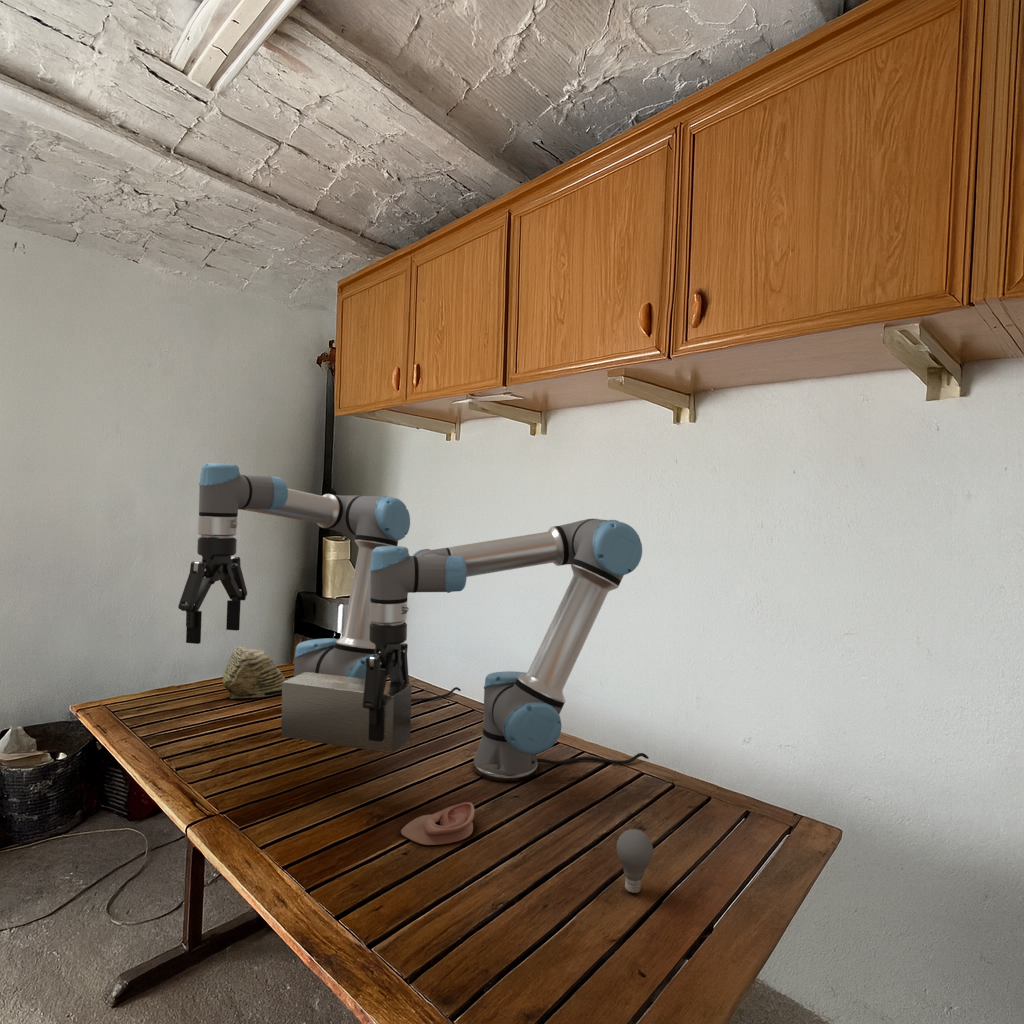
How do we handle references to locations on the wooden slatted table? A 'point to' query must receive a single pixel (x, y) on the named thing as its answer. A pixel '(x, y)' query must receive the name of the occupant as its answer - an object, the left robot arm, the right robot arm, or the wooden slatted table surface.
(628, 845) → the light bulb
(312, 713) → the box
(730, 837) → the wooden slatted table surface
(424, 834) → the anatomical model
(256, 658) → the fossil
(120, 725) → the wooden slatted table surface
